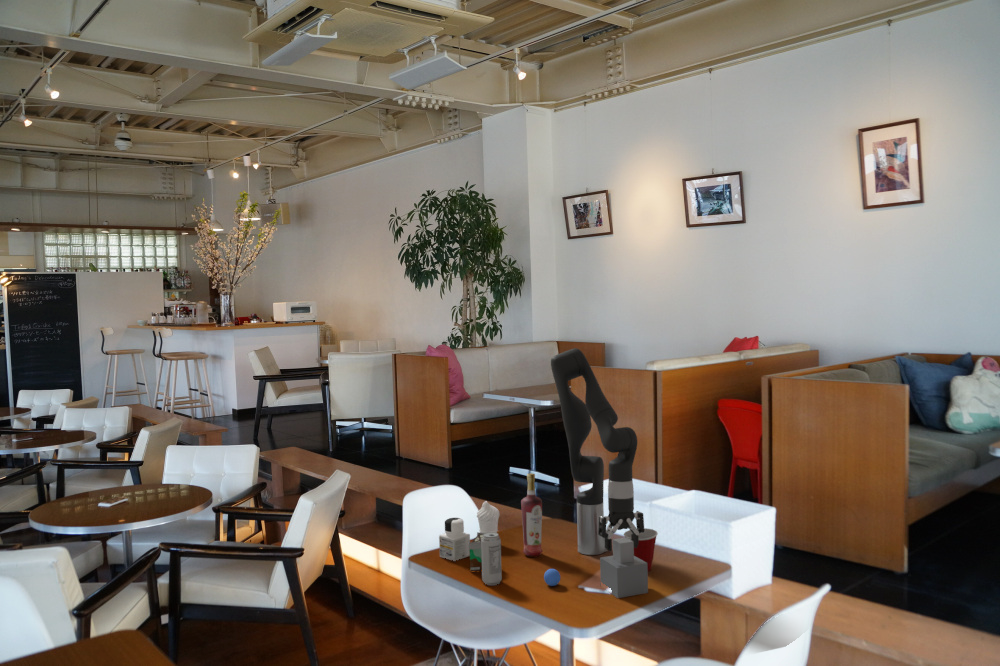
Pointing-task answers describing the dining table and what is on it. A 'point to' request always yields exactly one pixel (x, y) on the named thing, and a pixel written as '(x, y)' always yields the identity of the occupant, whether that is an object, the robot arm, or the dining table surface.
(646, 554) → the plastic cup
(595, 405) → the robot arm
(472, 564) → the food container
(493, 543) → the energy drink can
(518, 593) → the dining table surface
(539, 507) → the liquor
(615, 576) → the grey stepped block
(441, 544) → the container
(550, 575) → the ball
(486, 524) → the soft serve ice cream cone
